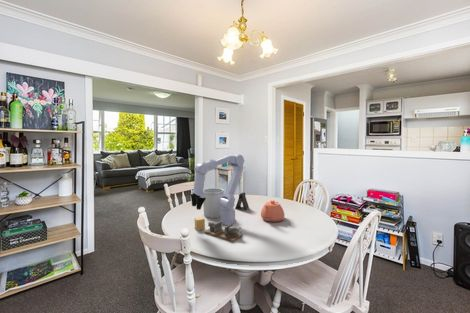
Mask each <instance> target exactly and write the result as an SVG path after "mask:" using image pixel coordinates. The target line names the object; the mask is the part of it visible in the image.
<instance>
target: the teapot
mask: <svg viewBox="0 0 470 313" xmlns="http://www.w3.org/2000/svg"><path fill="white" fill-rule="evenodd" d="M260 217H261V218H262V219H263V221H266V222H272V223H278V222H281V221H283V219H284V218H285V211H284V209H283V207H282V205H281V204H280V203H279V202H278V201H275V200H273V199H272V200H270V201H267V202H265V203H264V205H263V207H262V208H261V211H260Z"/></svg>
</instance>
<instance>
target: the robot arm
mask: <svg viewBox="0 0 470 313" xmlns="http://www.w3.org/2000/svg"><path fill="white" fill-rule="evenodd" d="M227 163H229V164H230V165H231V167H232V169H233V172H232V173H231V174H232V175H231V176H230V179H229V183H228V185H227V187H226V191H224V193H223V195H222V197H221V198H220V199H219V205H220V208H221V216H220V220H219V221H218V222H220V221H222V225H224V226H228V225H230V224H233V223H235V222H236V221H237V220H236V209H235V201H236V198H235V193H236V190H237V187H238V184H239V181H240V179H241V176H242V174H243V170H244V164H245V159H244V157H243V155H242V154H234V153H230V154H227V155H225V156H223V157H221V158H218V159H213V158H210V159H209V160H208V161H203V162H202V163H197V164H196V165H195V167H194V169H193V170H194V172H195V174H194V176H195V177H194V183H193V184H194V185H193V189H192V190H191V192H190V194H189V195H190V199H191V200H190V201H191V207H196V210H198V211H199V210H201V209H202V206H203V202H204V201H205V199H206V198H204V196H205V194H204V193H203V190H204V189H205V181H206V180H205V179H206V175H207V174H208V172H210V171H212V170H215V169H217V168H218V166H220V165H223V164H227Z"/></svg>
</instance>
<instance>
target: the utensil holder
mask: <svg viewBox="0 0 470 313" xmlns="http://www.w3.org/2000/svg"><path fill="white" fill-rule="evenodd" d="M203 193H204V194H205V196H204V198H206V199H205V201H204V202H203V204H202V206H203V215H204V217H207V218H219V217H220V218H221V208H220V205H219V199H220V198H221V197H222V195H223V194H224V193H225V190H224V188H220V187H207V188H204V190H203Z"/></svg>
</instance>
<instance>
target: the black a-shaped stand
mask: <svg viewBox="0 0 470 313" xmlns="http://www.w3.org/2000/svg"><path fill="white" fill-rule="evenodd" d="M246 196H247V195H246V192H241V193H239V194H238V199H237V203H236V205H235V207H234V209H235V210H238V211H239V210H240V211H247V210H248V209H250V206H249V204H248V200H247V197H246Z"/></svg>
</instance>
